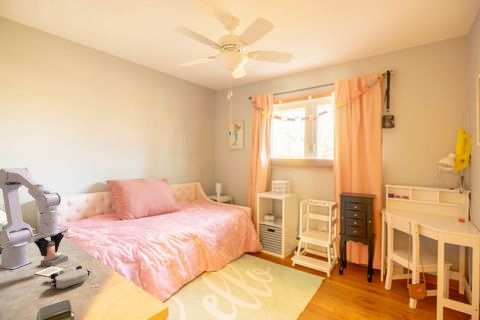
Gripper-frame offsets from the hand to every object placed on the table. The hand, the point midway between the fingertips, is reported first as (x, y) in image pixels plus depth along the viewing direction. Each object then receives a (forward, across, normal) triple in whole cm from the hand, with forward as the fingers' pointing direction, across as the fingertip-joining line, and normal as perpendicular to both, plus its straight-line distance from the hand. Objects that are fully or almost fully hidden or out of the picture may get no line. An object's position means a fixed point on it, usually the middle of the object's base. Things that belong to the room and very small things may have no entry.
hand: (49, 253), depth 98 cm
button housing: (+8, +7, +8) cm, 13 cm away
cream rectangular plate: (+8, 0, 0) cm, 8 cm away
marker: (+2, 0, 0) cm, 2 cm away
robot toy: (+8, -4, -16) cm, 19 cm away
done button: (+6, +7, +8) cm, 12 cm away
